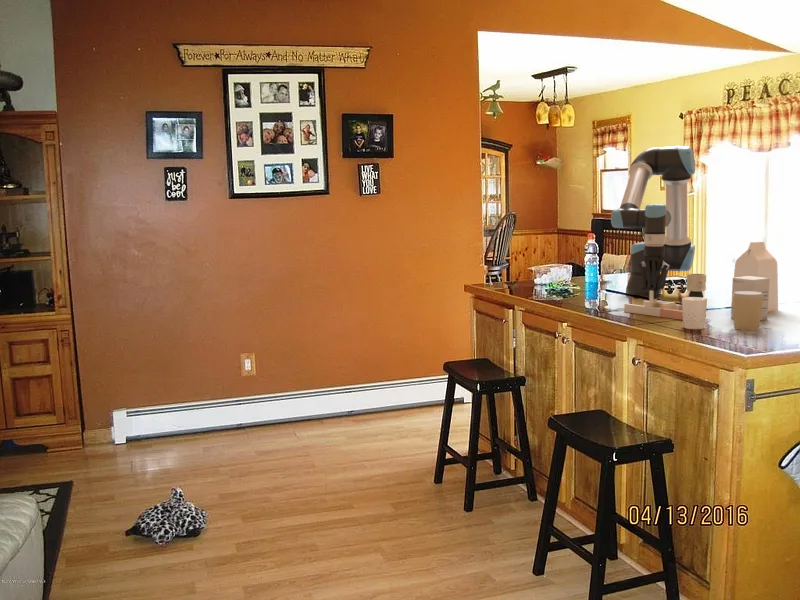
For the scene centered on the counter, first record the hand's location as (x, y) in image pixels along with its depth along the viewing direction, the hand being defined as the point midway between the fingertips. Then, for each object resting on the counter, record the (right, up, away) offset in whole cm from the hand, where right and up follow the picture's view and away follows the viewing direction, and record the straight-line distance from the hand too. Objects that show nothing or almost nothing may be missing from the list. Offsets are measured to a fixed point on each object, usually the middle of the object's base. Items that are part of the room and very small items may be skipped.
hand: (653, 307), depth 295 cm
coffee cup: (+20, -7, -35) cm, 41 cm away
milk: (+40, -1, +2) cm, 40 cm away
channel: (+3, -2, -3) cm, 5 cm away
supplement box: (+28, -4, -18) cm, 34 cm away
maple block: (+2, -3, -3) cm, 5 cm away
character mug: (+20, 0, +10) cm, 23 cm away
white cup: (+3, -7, -32) cm, 33 cm away
